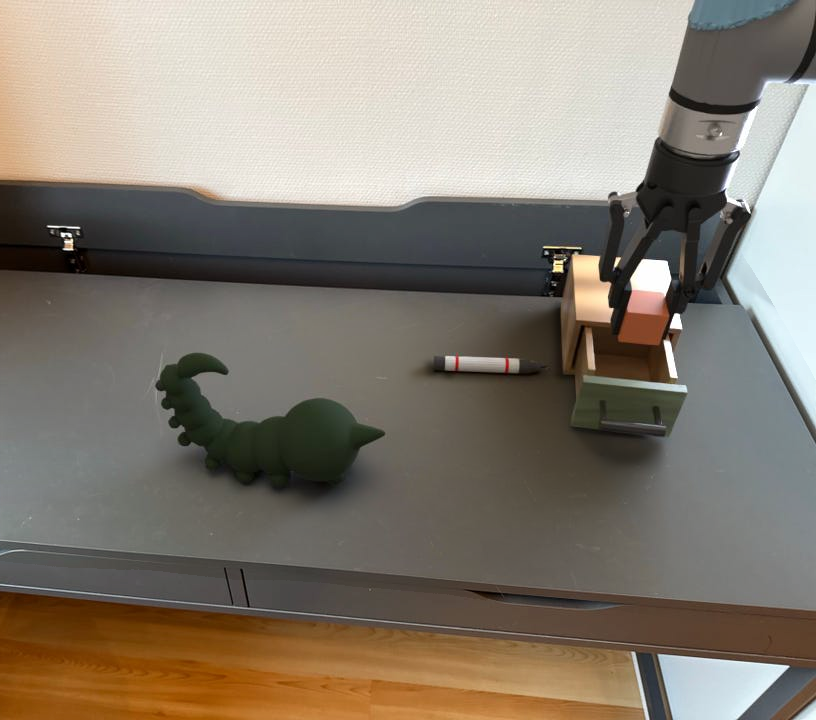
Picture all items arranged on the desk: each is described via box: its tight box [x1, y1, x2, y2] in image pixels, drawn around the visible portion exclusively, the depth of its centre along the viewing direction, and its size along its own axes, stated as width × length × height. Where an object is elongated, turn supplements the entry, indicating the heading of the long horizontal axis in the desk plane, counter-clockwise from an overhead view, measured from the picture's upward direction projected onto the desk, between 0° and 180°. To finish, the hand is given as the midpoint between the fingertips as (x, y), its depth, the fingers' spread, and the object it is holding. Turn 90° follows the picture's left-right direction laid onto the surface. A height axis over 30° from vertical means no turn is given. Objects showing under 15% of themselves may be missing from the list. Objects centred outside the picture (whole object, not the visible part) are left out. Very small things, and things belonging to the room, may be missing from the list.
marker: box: [433, 355, 549, 374], centre depth 96 cm, size 15×2×2 cm, turn 84°
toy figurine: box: [154, 352, 386, 488], centre depth 80 cm, size 9×19×25 cm
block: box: [618, 290, 669, 345], centre depth 81 cm, size 4×4×4 cm
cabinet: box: [560, 253, 683, 376], centre depth 96 cm, size 15×13×10 cm
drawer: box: [570, 325, 688, 438], centre depth 87 cm, size 18×11×8 cm, turn 168°
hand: (637, 329), depth 82 cm, fingers closed on block, 4 cm apart
